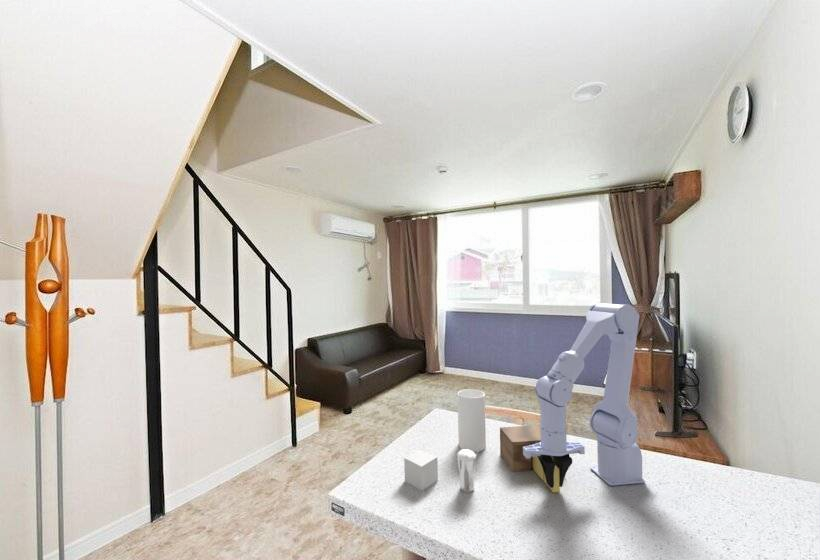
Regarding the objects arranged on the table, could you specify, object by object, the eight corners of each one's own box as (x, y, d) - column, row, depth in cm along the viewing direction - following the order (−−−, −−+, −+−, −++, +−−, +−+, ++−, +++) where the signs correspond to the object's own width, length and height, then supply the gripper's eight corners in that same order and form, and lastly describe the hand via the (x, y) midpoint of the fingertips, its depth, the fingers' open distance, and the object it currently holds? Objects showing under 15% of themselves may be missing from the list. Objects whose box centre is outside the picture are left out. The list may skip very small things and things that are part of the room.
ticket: (532, 460, 95) (532, 441, 95) (559, 491, 81) (559, 468, 81) (526, 461, 95) (526, 441, 95) (553, 492, 81) (552, 469, 81)
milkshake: (480, 495, 81) (479, 453, 81) (457, 493, 82) (456, 451, 82) (480, 484, 85) (479, 444, 85) (458, 482, 86) (457, 442, 86)
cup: (488, 451, 101) (487, 397, 101) (460, 452, 101) (459, 398, 101) (482, 438, 109) (481, 388, 109) (457, 439, 109) (456, 389, 109)
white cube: (422, 491, 83) (421, 466, 83) (404, 481, 87) (404, 458, 87) (438, 480, 88) (437, 456, 87) (420, 471, 92) (420, 449, 92)
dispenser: (543, 451, 101) (542, 424, 101) (560, 469, 91) (560, 439, 91) (500, 454, 100) (499, 427, 100) (513, 472, 90) (513, 443, 90)
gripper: (572, 419, 87) (573, 472, 87) (517, 423, 85) (518, 477, 85) (589, 431, 80) (590, 489, 80) (529, 435, 78) (531, 495, 78)
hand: (554, 484), depth 82 cm, fingers closed on ticket, 2 cm apart
